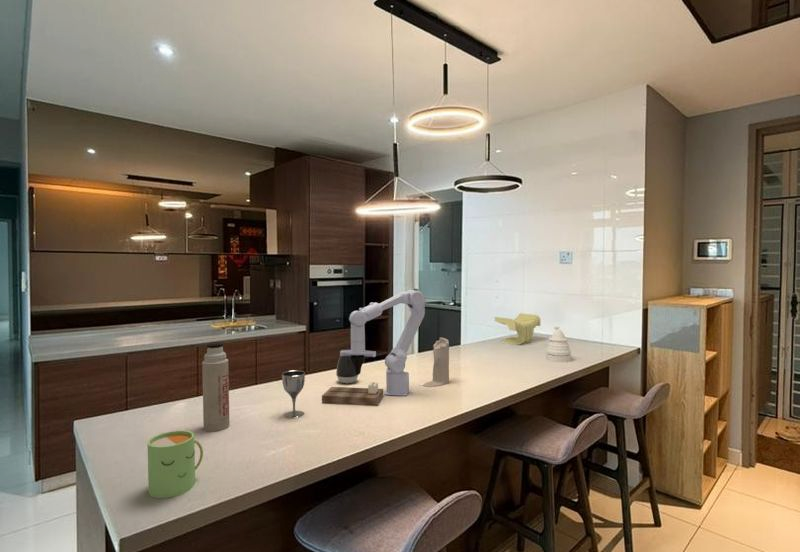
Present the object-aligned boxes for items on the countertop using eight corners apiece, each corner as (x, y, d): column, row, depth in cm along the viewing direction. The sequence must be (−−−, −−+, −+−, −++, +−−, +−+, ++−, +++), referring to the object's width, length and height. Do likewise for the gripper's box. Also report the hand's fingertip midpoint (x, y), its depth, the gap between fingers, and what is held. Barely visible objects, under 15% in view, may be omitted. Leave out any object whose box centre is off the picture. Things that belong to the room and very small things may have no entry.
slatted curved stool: (515, 347, 275) (515, 319, 274) (494, 343, 287) (494, 316, 286) (540, 341, 295) (540, 315, 294) (520, 338, 307) (520, 313, 306)
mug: (158, 503, 98) (157, 451, 98) (142, 487, 105) (141, 439, 105) (212, 482, 108) (211, 434, 107) (195, 469, 115) (194, 424, 114)
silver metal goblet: (285, 419, 150) (284, 377, 150) (280, 412, 157) (279, 372, 157) (307, 415, 154) (307, 374, 153) (302, 409, 161) (301, 369, 161)
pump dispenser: (355, 385, 191) (355, 351, 190) (333, 384, 193) (332, 351, 192) (362, 379, 201) (361, 347, 200) (340, 378, 203) (340, 346, 202)
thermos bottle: (234, 425, 145) (233, 343, 144) (213, 433, 139) (211, 347, 138) (219, 420, 150) (218, 340, 149) (198, 428, 143) (196, 344, 142)
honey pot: (542, 357, 245) (542, 326, 244) (563, 356, 246) (563, 325, 246) (552, 362, 232) (552, 329, 232) (575, 362, 234) (575, 329, 233)
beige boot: (419, 384, 192) (419, 340, 191) (440, 379, 201) (440, 336, 200) (430, 388, 186) (430, 342, 186) (452, 382, 196) (452, 338, 195)
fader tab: (378, 390, 172) (377, 382, 172) (375, 393, 168) (375, 385, 168) (370, 390, 173) (370, 382, 173) (368, 393, 169) (368, 385, 169)
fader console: (383, 396, 176) (383, 388, 176) (377, 405, 164) (377, 397, 164) (331, 393, 179) (331, 386, 179) (322, 403, 168) (321, 395, 167)
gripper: (377, 339, 178) (377, 371, 178) (343, 338, 180) (343, 370, 180) (373, 342, 171) (374, 376, 171) (338, 341, 173) (338, 375, 173)
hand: (358, 373), depth 175 cm, fingers closed
